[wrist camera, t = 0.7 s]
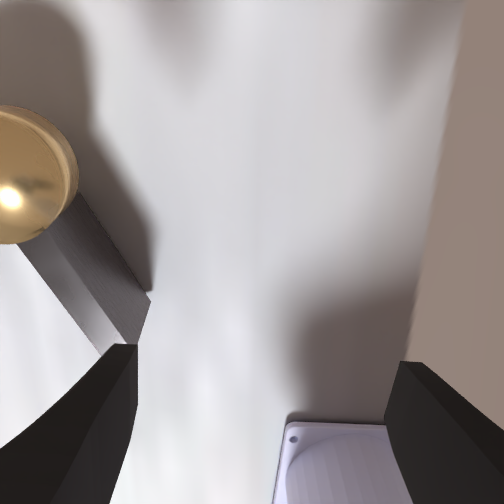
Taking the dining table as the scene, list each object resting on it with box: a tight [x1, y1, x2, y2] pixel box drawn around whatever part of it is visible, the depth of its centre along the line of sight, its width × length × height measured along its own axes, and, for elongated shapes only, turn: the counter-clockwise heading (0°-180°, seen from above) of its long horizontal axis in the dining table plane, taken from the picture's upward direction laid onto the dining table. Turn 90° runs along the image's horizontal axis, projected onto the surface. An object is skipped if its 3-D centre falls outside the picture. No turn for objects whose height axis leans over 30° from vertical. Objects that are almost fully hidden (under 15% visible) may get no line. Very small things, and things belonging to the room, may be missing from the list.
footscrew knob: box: [0, 105, 151, 356], centre depth 18 cm, size 10×4×4 cm, turn 25°
